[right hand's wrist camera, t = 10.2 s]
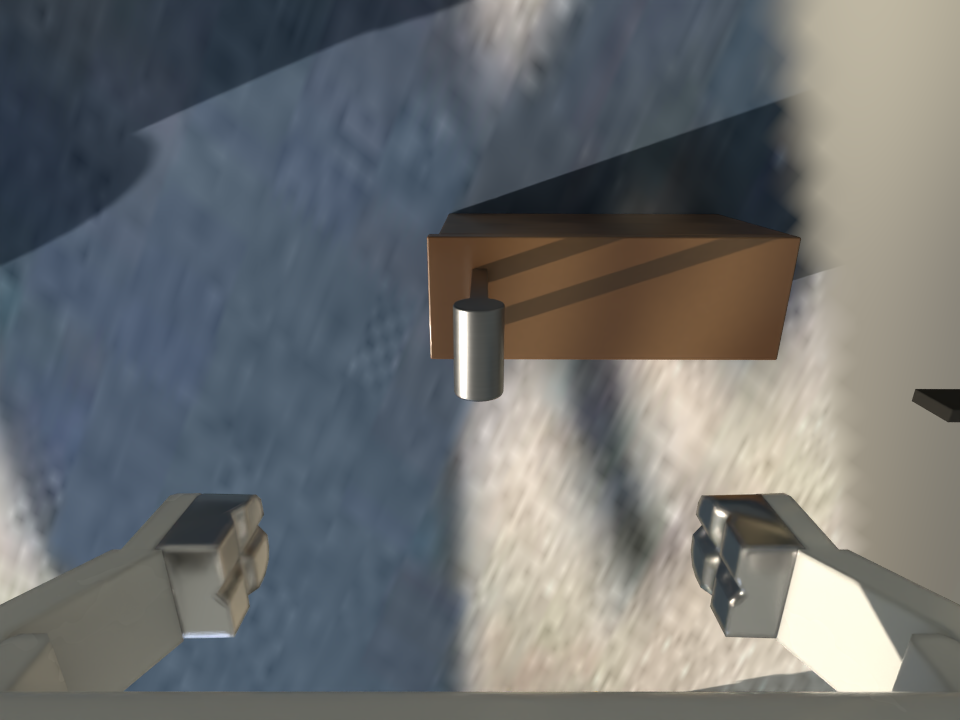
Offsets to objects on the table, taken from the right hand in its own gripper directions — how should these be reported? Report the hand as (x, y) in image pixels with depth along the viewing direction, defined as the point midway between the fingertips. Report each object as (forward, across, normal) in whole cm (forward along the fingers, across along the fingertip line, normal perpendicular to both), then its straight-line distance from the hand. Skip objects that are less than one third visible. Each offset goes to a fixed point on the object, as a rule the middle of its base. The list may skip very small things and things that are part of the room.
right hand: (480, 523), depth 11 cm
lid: (+17, +6, 0) cm, 18 cm away
